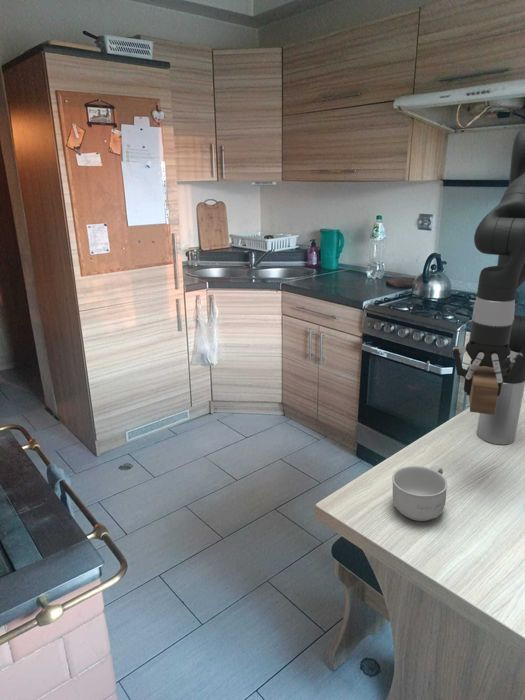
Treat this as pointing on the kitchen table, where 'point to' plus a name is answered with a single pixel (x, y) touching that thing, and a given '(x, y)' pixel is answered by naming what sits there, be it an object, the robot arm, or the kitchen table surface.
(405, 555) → the kitchen table surface
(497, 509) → the kitchen table surface
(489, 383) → the walnut beam
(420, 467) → the teacup
